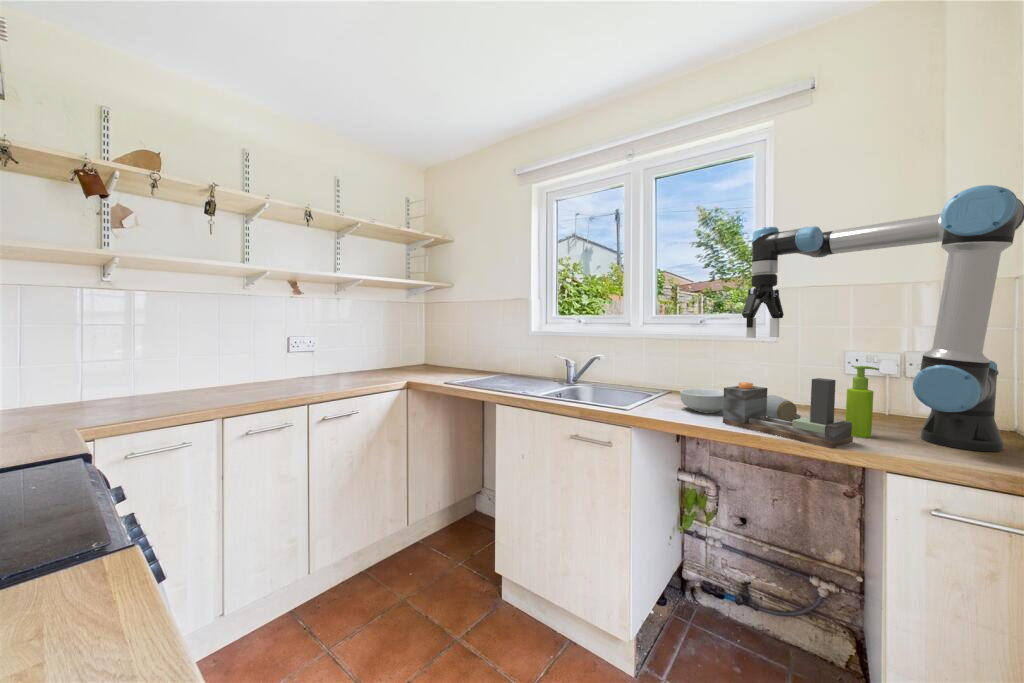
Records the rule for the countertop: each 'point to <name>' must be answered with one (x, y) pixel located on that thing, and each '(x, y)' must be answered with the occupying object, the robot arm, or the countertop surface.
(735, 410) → the rail track
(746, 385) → the button
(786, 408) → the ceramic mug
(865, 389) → the soap dispenser
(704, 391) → the cereal bowl
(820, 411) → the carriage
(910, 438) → the countertop surface
